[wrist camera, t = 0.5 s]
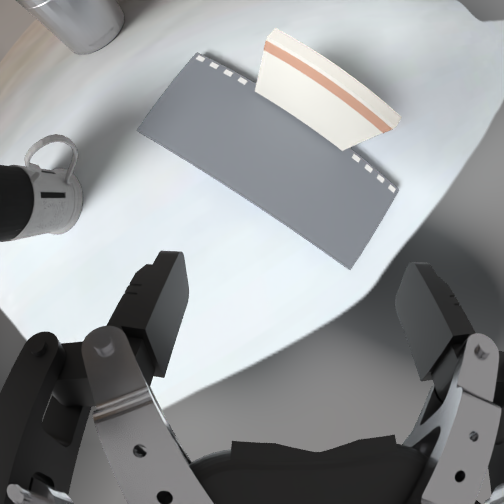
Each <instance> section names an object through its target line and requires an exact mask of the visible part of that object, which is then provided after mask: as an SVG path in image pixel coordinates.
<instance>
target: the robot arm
mask: <svg viewBox="0 0 504 504" xmlns="http://www.w3.org/2000/svg"><path fill="white" fill-rule="evenodd" d="M16 1H17V2H18V3H19V4H20V5H21V6H22V7H24V8H25V9H26V10H27V11H28V12H30V13H31V14H32V15H33V16H34V17H35V18H36V19H37V20H38V21H40V22H41V23H42V24H43V25H44V26H45V27H46V28H47V29H48V30H50V31H51V32H52V33H53V34H54V35H55V36H56V37H57V38H58V39H59V40H60V41H62V42H63V43H64V44H65V45H66V46H67V47H68V48H69V49H70V50H71V51H73V52H74V53H76V54H89V53H92V52H95V51H97V50H99V49H101V48H102V47H104V46H105V45H107V44H108V43H109V42H110V41H112V40H113V39H114V38H115V37H116V35H117V34H118V33H119V31H120V30H121V28H122V26H123V23H124V14H123V12H122V10H121V8H120V7H119V5H118V3H117V1H116V0H16ZM188 298H189V286H188V279H187V273H186V266H185V260H184V255H183V253H182V252H177V251H160V252H159V254H158V256H157V258H156V259H155V261H154V263H153V265H150V264H146V265H145V266H144V267H142V268H141V269H140V270H139V271H138V272H136V273H135V275H134V277H133V279H132V280H131V282H130V285H129V286H128V287H127V289H126V291H125V294H123V296H122V298H121V300H120V302H119V303H118V305H117V307H116V309H115V311H114V313H113V314H112V316H111V318H110V320H109V322H108V324H107V326H103V327H99V328H97V329H95V330H93V331H92V332H90V333H89V334H88V335H87V336H86V337H85V339H84V341H83V342H74V343H63V344H60V342H59V340H58V339H57V337H56V336H55V335H54V334H53V333H51V332H40V333H37V334H35V335H33V336H32V337H31V338H30V339H28V341H27V342H26V343H25V345H24V347H23V349H22V350H21V352H20V354H19V356H18V358H17V360H16V362H15V364H14V366H13V368H12V369H11V372H10V374H9V376H8V378H7V380H6V382H5V384H4V386H3V388H2V391H1V393H0V504H74V503H73V502H72V500H71V499H70V498H69V496H68V493H69V488H70V484H71V479H72V475H73V471H74V467H75V463H76V459H77V455H78V451H79V447H80V444H81V440H82V436H83V433H84V430H85V426H86V423H87V419H88V416H89V413H90V410H91V407H92V406H96V411H94V412H93V420H94V423H95V427H96V429H97V433H98V435H99V438H100V441H101V444H102V446H103V449H104V452H105V454H106V457H107V459H108V462H109V464H110V467H111V469H112V471H113V474H114V476H115V478H116V480H117V483H118V485H119V487H120V489H121V491H122V493H123V495H124V497H125V499H126V501H127V503H128V504H480V503H479V502H478V501H477V500H476V499H477V496H478V494H479V491H480V488H481V486H482V483H483V480H484V477H485V474H486V471H487V468H488V469H489V476H490V484H491V493H492V496H491V498H489V499H487V500H486V501H485V503H484V504H504V352H502V351H498V349H497V347H496V345H495V344H494V342H493V341H492V340H491V339H490V338H489V337H487V336H485V335H483V334H478V333H475V331H474V329H473V327H472V325H471V323H470V322H469V320H468V318H467V316H466V314H465V312H464V311H463V309H462V307H461V306H459V302H458V300H457V299H456V297H454V293H453V292H452V290H451V289H450V287H449V286H448V284H447V283H445V282H444V281H443V280H442V279H441V278H440V277H438V276H437V274H436V273H435V271H434V270H433V268H432V266H431V265H430V264H429V263H416V262H410V263H409V264H408V266H407V268H406V270H405V273H404V276H403V278H402V281H401V284H400V287H399V289H398V292H397V294H396V298H395V308H396V312H397V314H398V317H399V319H400V322H401V325H402V327H403V330H404V333H405V335H406V338H407V341H408V344H409V347H410V350H411V353H412V356H413V358H414V361H415V365H416V368H417V371H418V374H419V377H420V380H421V381H426V380H433V382H434V385H433V386H432V387H431V389H430V391H429V393H428V396H427V398H426V401H425V403H424V406H423V408H422V410H421V413H420V415H419V417H418V420H417V422H416V424H415V426H414V428H413V430H412V432H411V433H410V435H409V436H408V437H407V438H406V440H405V441H404V442H403V444H402V445H400V444H396V439H395V435H390V436H384V437H376V438H370V439H361V440H357V441H354V442H351V443H348V444H345V445H342V446H339V447H336V448H333V449H330V450H327V451H323V452H311V451H306V450H301V449H297V448H292V447H288V446H284V445H280V444H276V443H254V442H252V443H251V442H237V441H232V447H231V450H223V451H219V452H215V453H211V454H209V455H206V456H203V457H201V458H199V459H197V460H195V461H193V462H191V460H190V458H189V457H188V455H187V453H186V452H185V450H184V449H183V447H182V445H181V444H180V442H179V440H178V439H177V437H176V435H175V433H174V432H173V430H172V428H171V426H170V424H169V423H168V421H167V419H166V417H165V415H164V413H163V411H162V409H161V407H160V405H159V403H158V401H157V399H156V397H155V395H154V393H153V391H152V389H151V387H150V385H151V382H152V378H153V376H156V377H162V378H164V377H165V374H166V370H167V367H168V363H169V360H170V357H171V354H172V350H173V347H174V344H175V341H176V337H177V334H178V331H179V328H180V325H181V322H182V319H183V316H184V312H185V309H186V306H187V303H188ZM51 394H52V398H51V400H50V403H49V405H48V408H47V411H46V413H45V416H44V419H43V422H42V418H43V414H44V412H45V409H46V406H47V404H48V401H49V399H50V396H51Z"/></svg>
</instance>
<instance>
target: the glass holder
mask: <svg viewBox="0 0 504 504" xmlns="http://www.w3.org/2000/svg"><path fill="white" fill-rule="evenodd" d="M52 142H64V143H66V144H68V145H70V146H71V148H72V150H73V157H72V160H71V163H70V166H69V168H68V170H67V169H63V168H58V169H53V170H46V169H40V167H39V166H38V165H35V164H32V163H30V159H31V157H32V156H33V154H34V153H35V152H36V151H38V150H39V149H40V148H42V147H43V146H45V145H47V144H49V143H52ZM77 159H78V152H77V149H76V146H75V144H74V143H73V142H72V141H71V140H70V139H69V138H67V137H65V136H63V135H57V134H55V135H50V136H47V137H45V138H43V139H41V140H39V141H38V142H36V143H35V144H34V145H33V146H32V147H31V148H30V149H29V150H28V151H27V153H26V155H25V165H26V167H25V166H18V165H10V166H4V165H0V242H5V241H12V240H17V239H22V238H26V237H31V236H36V235H41V234H46V233H50V234H57V235H59V234H63V233H65V232H67V231H69V230H70V229H71V228H72V227H73V226H74V225H75V223H76V222H77V220H78V218H79V216H80V213H81V210H82V204H83V195H82V189H81V185H80V183H79V181H78V179H77V177H76V176H75V175H74V174H73V173H72V172H73V170H74V168H75V165H76V162H77Z"/></svg>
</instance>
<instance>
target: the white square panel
mask: <svg viewBox="0 0 504 504" xmlns="http://www.w3.org/2000/svg"><path fill="white" fill-rule="evenodd" d="M255 92H257V93H258V94H260V95H262V96H263V97H265V98H267V99H268V100H270V101H271V102H273V103H275V104H276V105H278V106H279V107H281V108H282V109H284V110H286V111H287V112H289V113H290V114H292V115H293V116H295V117H296V118H298V119H299V120H300V121H302V122H303V123H305V124H306V125H308V126H309V127H311V128H312V129H313V130H315V131H316V132H318V133H319V134H320V135H322V136H323V137H324V138H326V139H327V140H329V141H330V142H331V143H333V144H334V145H335V146H337V147H338V148H339V149H340V150H342V151H343V150H345V149H348V148H350V147H352V146H354V145H357V144H359V143H361V142H363V141H366V140H368V139H370V138H372V137H375V136H377V135H379V134H382V133H385V132H387V131H390V130H392V129H394V128H396V127H397V125H398V123H399V121H400V119H401V118H402V117H401V116H400V115H399V114H398V113H397V112H395V111H394V110H393V109H392V108H391V107H390V106H389V105H387V104H386V103H385V102H384V101H383V100H382V99H380V98H379V97H378V96H377V95H376V94H374V93H373V92H372V91H371V90H369V89H368V88H367V87H366V86H364V85H363V84H362V83H360V82H359V81H358V80H356V79H355V78H354V77H352V76H351V75H350V74H348V73H347V72H346V71H344V70H343V69H341V68H340V67H338V66H337V65H336V64H334V63H333V62H331V61H330V60H328V59H327V58H325V57H324V56H322V55H321V54H319V53H318V52H316V51H314V50H313V49H311V48H310V47H308V46H306V45H305V44H303V43H301V42H300V41H298V40H296V39H295V38H293V37H291V36H289V35H288V34H286V33H284V32H282V31H280V30H278V29H277V28H275V29H274V30H273V31H272V32H271V33H270V34H269V35H268V36H267V39H266V42H265V46H264V52H263V56H262V61H261V65H260V70H259V74H258V79H257V83H256V88H255Z"/></svg>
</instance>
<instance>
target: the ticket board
mask: <svg viewBox="0 0 504 504" xmlns="http://www.w3.org/2000/svg"><path fill="white" fill-rule="evenodd" d="M255 88H256V83H254V82H253V81H251V80H249V79H247V78H246V77H244V76H242V75H240V74H238V73H237V72H235V71H233V70H231V69H229V68H227V67H226V66H224V65H222V64H220V63H218V62H216V61H214V60H212V59H210V58H208V57H206V56H204V55H202V54H200V53H198V52H197V53H196V54H195V55H194V56H193V57H192V58H191V60H190V61H189V62H188V63H187V64H186V65H185V67H184V68H183V69H182V70H181V71H180V73H179V74H178V75H177V76H176V78H175V79H174V80H173V81H172V83H171V84H170V85H169V86H168V88H167V89H166V90H165V91H164V93H163V94H162V95H161V97H160V98H159V99H158V101H157V102H156V103H155V105H154V106H153V108H152V109H151V110H150V112H149V113H148V115H147V116H146V117H145V119H144V120H143V122H142V123H141V125H140V126H139V128H138V129H137V131H138V132H140V133H141V134H143V135H144V136H146V137H148V138H149V139H151V140H153V141H154V142H156V143H158V144H159V145H161V146H163V147H164V148H166V149H168V150H169V151H171V152H173V153H174V154H176V155H178V156H179V157H181V158H182V159H184V160H186V161H187V162H189V163H190V164H192V165H194V166H195V167H197V168H198V169H200V170H202V171H203V172H205V173H206V174H208V175H210V176H211V177H213V178H214V179H216V180H217V181H219V182H221V183H222V184H224V185H225V186H227V187H228V188H230V189H231V190H233V191H235V192H236V193H238V194H239V195H241V196H242V197H244V198H245V199H247V200H248V201H250V202H251V203H253V204H254V205H256V206H257V207H259V208H260V209H262V210H263V211H265V212H266V213H268V214H269V215H271V216H272V217H274V218H275V219H277V220H278V221H280V222H281V223H283V224H284V225H286V226H287V227H289V228H290V229H292V230H293V231H295V232H296V233H297V234H299V235H300V236H302V237H303V238H305V239H306V240H308V241H309V242H310V243H312V244H313V245H315V246H316V247H318V248H319V249H320V250H322V251H323V252H325V253H326V254H328V255H329V256H330V257H332V258H333V259H335V260H336V261H337V262H339V263H340V264H342V265H343V266H344V267H346V268H348V269H349V270H351V268H352V267H353V265H354V264H355V262H356V261H357V259H358V258H359V256H360V255H361V253H362V251H363V250H364V248H365V247H366V245H367V243H368V242H369V240H370V239H371V237H372V235H373V234H374V232H375V231H376V229H377V227H378V226H379V224H380V222H381V221H382V219H383V217H384V215H385V214H386V212H387V210H388V209H389V207H390V205H391V203H392V202H393V200H394V198H395V196H396V195H397V193H398V191H399V189H398V188H397V187H396V186H395V185H394V184H392V183H391V182H390V181H389V180H388V179H387V178H386V177H385V176H383V175H382V174H381V173H380V172H379V171H378V170H376V169H375V168H374V167H373V166H372V165H371V164H369V163H368V162H367V161H366V160H365V159H363V158H362V157H361V156H360V155H358V154H357V153H356V152H355V151H353V150H352V149H351V148H348V149H345V150H343V151H342V150H340V149H339V148H338V147H337V146H335V145H334V144H333V143H331V142H330V141H329V140H327V139H326V138H324V137H323V136H322V135H320V134H319V133H318V132H316V131H315V130H313V129H312V128H311V127H309V126H308V125H306V124H305V123H303V122H302V121H300V120H299V119H298V118H296V117H295V116H293V115H292V114H290V113H289V112H287V111H286V110H284V109H282V108H281V107H279V106H278V105H276V104H275V103H273V102H271V101H270V100H268V99H267V98H265V97H263V96H262V95H260V94H258V93H257V92H255Z"/></svg>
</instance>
